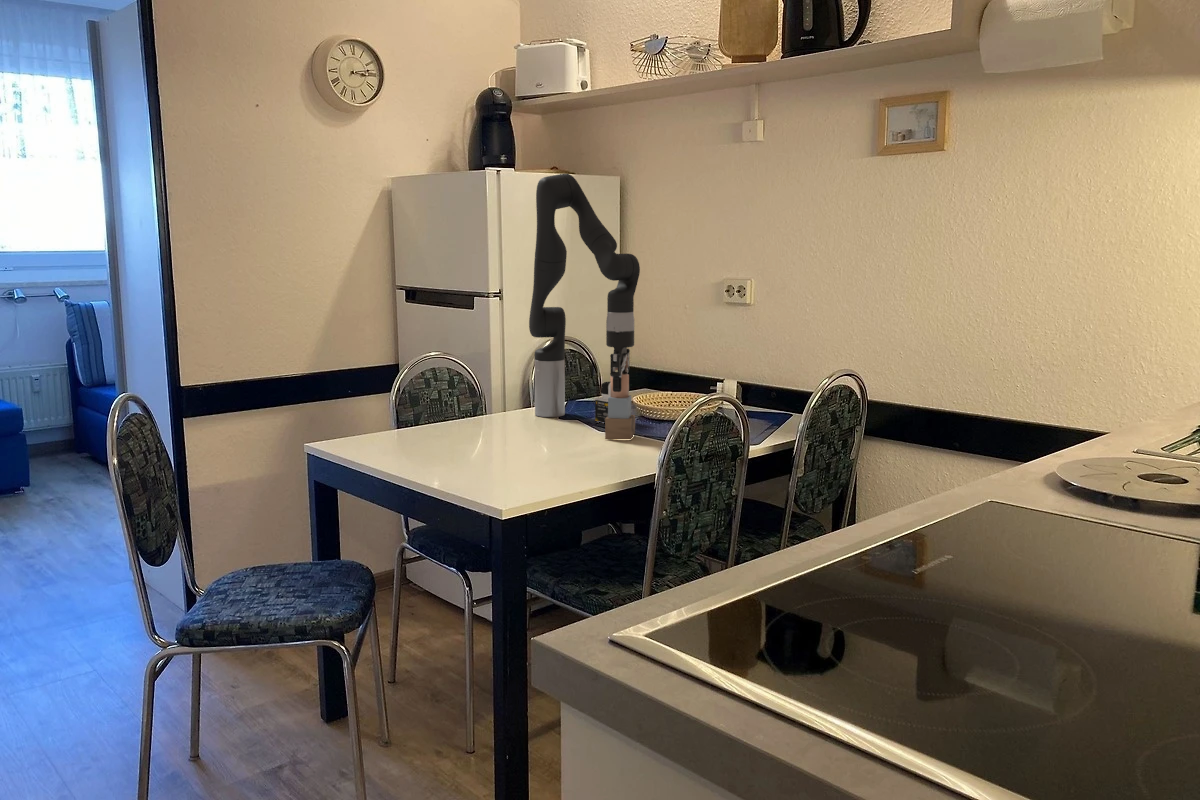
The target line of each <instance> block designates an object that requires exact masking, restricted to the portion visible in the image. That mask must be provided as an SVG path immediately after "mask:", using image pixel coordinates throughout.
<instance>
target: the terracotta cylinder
mask: <svg viewBox="0 0 1200 800" xmlns="http://www.w3.org/2000/svg"><path fill="white" fill-rule="evenodd" d="M609 378H610V379H609V380H610V381H609V382H610V397H612V398H627V397H629V395H630V374H628V373H626V374H622V377H621V391H620V392H614V391H613V378H612V376H611V375H610V377H609Z"/></svg>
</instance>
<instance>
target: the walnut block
mask: <svg viewBox="0 0 1200 800" xmlns="http://www.w3.org/2000/svg"><path fill="white" fill-rule="evenodd" d="M604 430H605V431H604V437H605V438H604V440H605V439H631V438H632V437H633V435H634V434H635V435H636V414H631V416H630V417H629V418H628V419H619V418H608V416H607V417H606V418H605V424H604Z"/></svg>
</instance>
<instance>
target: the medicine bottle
mask: <svg viewBox="0 0 1200 800" xmlns="http://www.w3.org/2000/svg"><path fill="white" fill-rule="evenodd" d="M609 397H610V381H604V382H602V384H601V397H596V398H595V399H594V405H595V406H594V407H595V409H594V414H595V415H594V422H595V421H601V422H605V418H606V417H607V416H608V398H609Z"/></svg>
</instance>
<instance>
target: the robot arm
mask: <svg viewBox="0 0 1200 800" xmlns="http://www.w3.org/2000/svg"><path fill="white" fill-rule="evenodd" d="M535 195H536V197H535V198H536V199H535V200H536V201H535V205H536V207H535V208H536V237H535V239H536V240H535V249H534V250H535V251H534V264H533V284H532V285H533V286H532V287H533V288H532V296H531V297H532V298H531V303H530V311H529V320H528V327H529V328H528V329H529V332H530V335H531V337H534V338H541V339H543V338H553V339H552V340H551V342H550V343H548V344H547V345H545V346H543V347H540V348H537V349H535V351H534V415H535V416H537V417H543V418H557V417H563V416H565V414H566V409H565V408H566V401H565V400H566V398H565V397H566V396H565V395H566V389H565V387H566V378H565V377H566V375H565V373H566V372H565V369H566V368H565V365H566V364H565V362H566V360H565V353H566V351H565V350H566V349H565V348H566V345H565V344H566V340H565V339H566V325H567V324H566V323H567V322H566V321H567V319H566V313H565V310H564V308H563V307H560V306H544V305H545V303H546V300H547V298H548V296H549V295H550V293H551V292H552V291H553V290H554V289H555V287H556V286H557V285H558V283H559V282H560V281H561V280H562V278H563V276H564V274H565V273H566V267H567V257H568V256H567V252H568V251H567V247H566V245H565V242H564V240H563V238H562V237H561V236H560V233H559V232H558V231H557V229H556V224H555V223H556V221H555V220H556V219H555V214H556V210H559V209H564V208H569V207H570V208H571V209H573V211H574V212H575V213H576V215H577V217H578V231H579V236H580V238H581V240H582V241H583V243H584V245H585V246H587V248H588V249H589V251H590V252H591V253H592V254H593V256H594V258H595V261H596V263H597V266H598V268H599V271H600V272H601V274H602V275H603V276H604V277H605V278H606V279H608V280H609V281H618V282H617V285H616V287H615V288H614V289H611V290H610V291H608V293H607V304H606V305H607V309H606V310H607V311H606V312H607V313H606V323H605V325H606V326H605V327H606V330H605V331H606V335H605V336H606V337H605V339H606V343H605V345H606V346H607V347H609V348H613V353H611V354H610V357H609V358H610V373H609V374H610V375H611V376H612V378H613V391H614V392H620V391H621V377H622V374H628V373H629V371H630V348H632V347H634V346H635V316H634V315H635V314H634V313H635V312H634V310H635V309H634V308H635V307H634V300H635V299H634V298H635V293H636V290H637V286H638V281H639V277H640V273H641V267H640V262H639V259H638V258H637V257H636V256H635V255H634V254H633V253H616V250H617V248H618V243H617V241H616V239H615V237H614V236H613V235H612V234H611V233H610V231H609V230H608V229H607V227H605V226H604V224H603V223H602V221H601V220H600V219H599V217H598V216H597V214H596V212H595V210H594V208H593V207H592V205H591V204H590V201H589V199H588V198H587V196H586V194H585V192H584V191H583V189H582V187H581V185H580V184H579V182H578V181H577V179H576V178H575V177H574V176H573V175H571V174H569V173H560V174H555V175H549V176H544V177H542V178H540V179H539V180H538V182H537V185H536V194H535Z"/></svg>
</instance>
